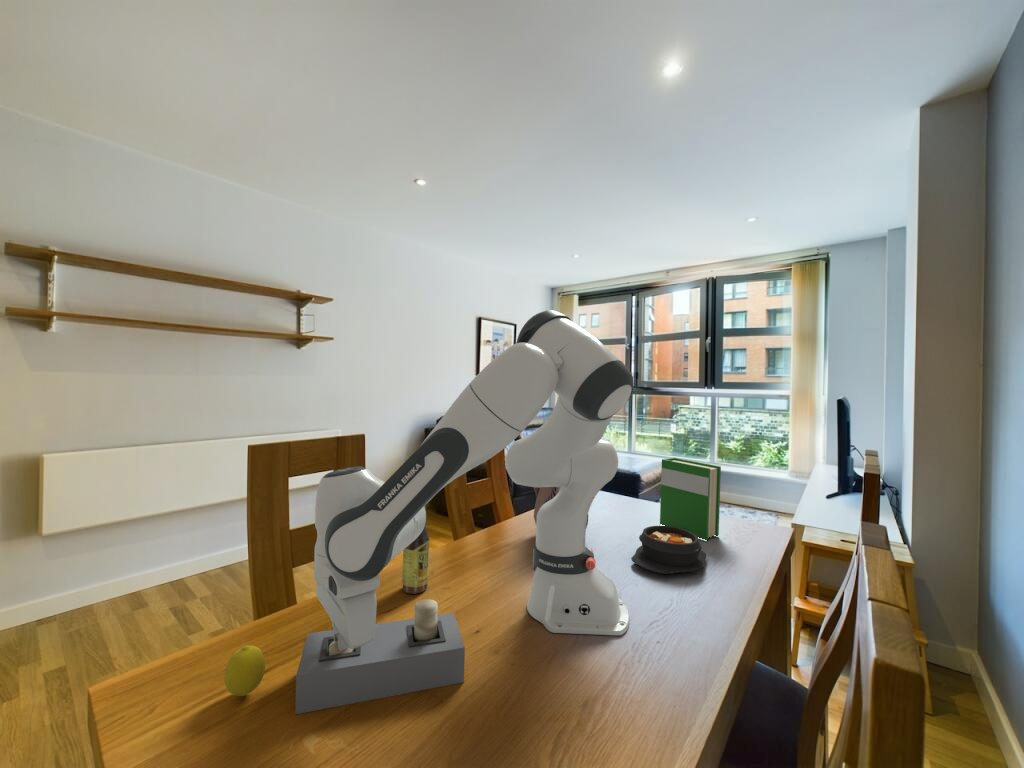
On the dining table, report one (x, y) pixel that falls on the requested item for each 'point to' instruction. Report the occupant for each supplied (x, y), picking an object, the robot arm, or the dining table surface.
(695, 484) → the hardback book
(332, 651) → the peg outer
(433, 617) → the peg inner
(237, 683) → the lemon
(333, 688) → the peg block
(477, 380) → the robot arm
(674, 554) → the casserole
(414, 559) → the sauce bottle
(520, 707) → the dining table surface
